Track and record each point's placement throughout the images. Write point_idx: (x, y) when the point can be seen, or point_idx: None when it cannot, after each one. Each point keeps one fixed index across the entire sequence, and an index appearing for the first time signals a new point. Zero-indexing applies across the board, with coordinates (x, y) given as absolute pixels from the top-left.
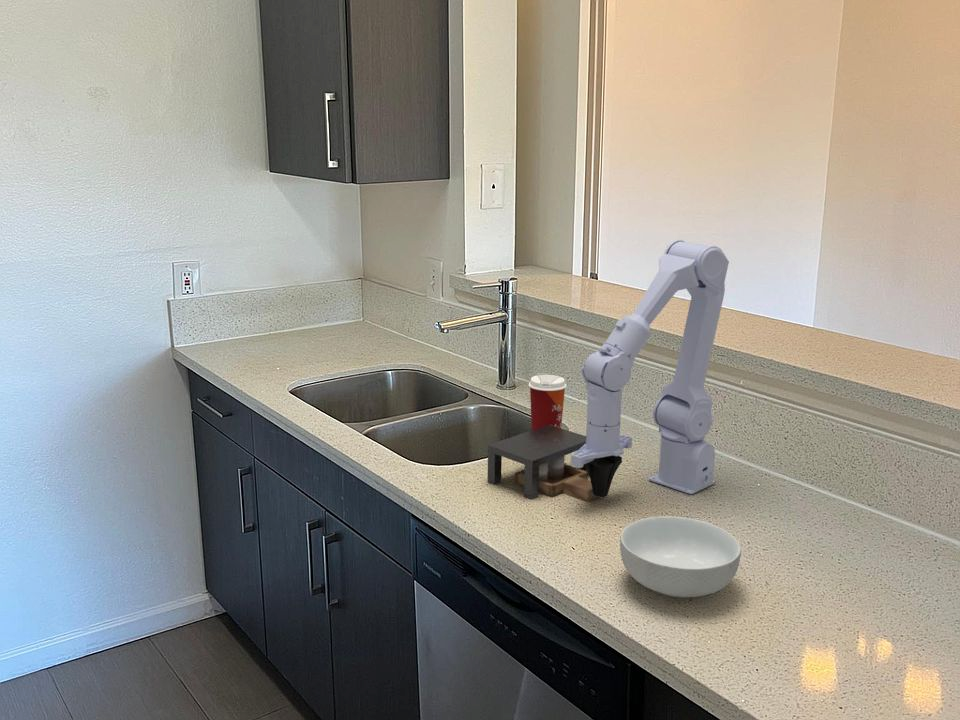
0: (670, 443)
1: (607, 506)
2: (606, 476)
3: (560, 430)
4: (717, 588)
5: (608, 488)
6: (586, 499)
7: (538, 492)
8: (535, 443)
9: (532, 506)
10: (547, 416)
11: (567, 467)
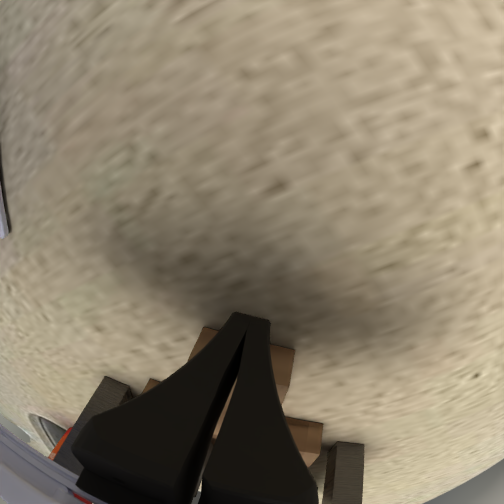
0: None
1: (291, 273)
2: (257, 411)
3: None
4: None
5: (228, 334)
6: (293, 358)
7: (337, 452)
8: None
9: (408, 431)
10: (75, 495)
11: None
